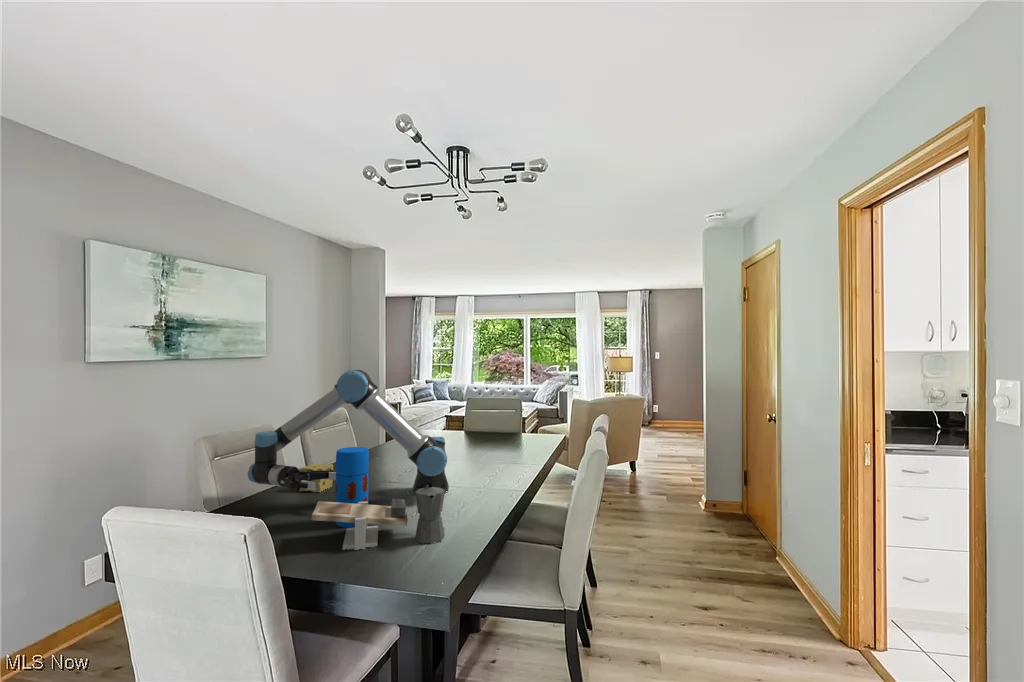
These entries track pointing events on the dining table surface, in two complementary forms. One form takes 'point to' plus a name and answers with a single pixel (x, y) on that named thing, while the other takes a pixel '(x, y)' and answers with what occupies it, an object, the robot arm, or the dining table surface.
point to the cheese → (321, 483)
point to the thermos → (351, 477)
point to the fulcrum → (361, 534)
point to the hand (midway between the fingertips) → (330, 481)
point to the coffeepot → (429, 514)
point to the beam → (362, 512)
